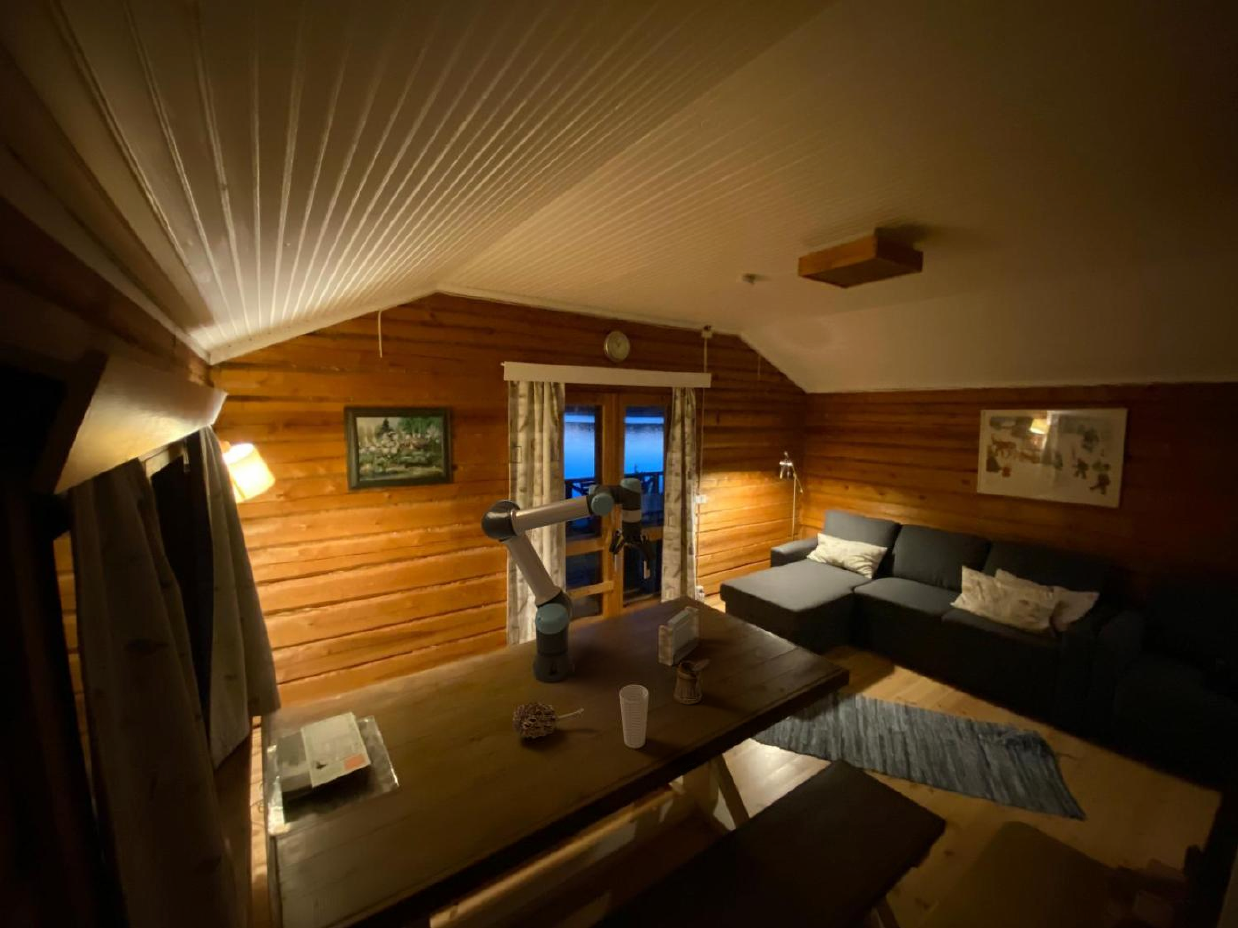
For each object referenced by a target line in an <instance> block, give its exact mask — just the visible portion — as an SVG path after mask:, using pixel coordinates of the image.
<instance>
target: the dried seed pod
mask: <svg viewBox="0 0 1238 928" xmlns="http://www.w3.org/2000/svg"><path fill="white" fill-rule="evenodd" d="M584 711H585V709H584V708H581V707H580V708H579V710H576V711H574V712H571V713H567V714H563V715H559V716H558V714H556V713H555V709H554V707H553V705H552V704H548V703H547V702H544V703H542V702H540V701H539V702H537V701H534V703H533V702H529V703H527V704H522V705H520V706H518V707H517V709H516V710H515V711H513V717H512V729H513V731H514V732H516V734H517V735H519V736H522V737H524V738H527V739H528V738H530V737H531V738H532V739H535V738H539V737H545V736H547V735H550V734H553V732H554V729H555V726H556V724H558V723H557V722H560V721H565V720H568V719H571V718H576V717H579V716H584Z"/></svg>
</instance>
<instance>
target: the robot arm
mask: <svg viewBox="0 0 1238 928" xmlns="http://www.w3.org/2000/svg"><path fill="white" fill-rule="evenodd" d="M617 505H618V506H619V505H620V506H621V507H620V509H621V519H622V520H621V528H618V529H616V530H615V532H614V537H613V540H612V541H611V544H610V547H609V548H608V553H609V552H610V553H612V554H613V555H612V556H613V562H614V571H615V572H619V571H620V570H622V568H621V552H620V551H621V550H622V549H623V547H624V546H625V545H626V544H628V545H633V546H635V547H636V548H637V549H638V550H639V552H640V554H641V556H642V557H643V558H644V560H645V561H643V578H644V579H648V578H650V576H651V570H652V565H653V564H652V563H653V561H655V560H657V555H656V554H655V551H654V548H653V546H652V543H651V541H650V535H649V534H648V533H646V534H642V529H643V527H642V524H643V523H642V521H643V520H642V514H643V513H642V482H641V480H639V479H638V478H634V477H629V478H623V479H621V481H620V484H619V483H618V484H598V483H597V484H591V485H590V486H589V487H588V494H587V495H585V494H584V495H581V496H577V497H571V498H568V499H563V500H559V501H555V502H550V503H546V504H545V503H544V504H541V505H537V506H531V507H527V508H523V509H521V508H520V506H519V505H518V504H517V503H516V502H515V501H512V500H509V499H503V500H499V501H497V502H495V503H494V504H492V506H490V507H489V509H488V510H487V511H486V512H485V513H484V514H483V516H481V520H480V527H481V530H482V532H483V533H484V534H485V536H486V537H487V538H489V539H491V540H497V541H498V543H500V544H501V545H502V544H503V545H505V546H506V548H507V550H508V552H509V553H510V555H511V557H512V558H513V560H514V562H515V564H516V566H517V568H518V569H519V571H520V572H521V574H522V576H523V578H524V579H525V582H526V583H527V585H528V587H529V588H530V590H531V592H532V593H533V596H534V597H535V598H534V601H533V602H534V606H535V608H536V609H537V611H536V612H535V617H534V625H535V643H536V653H535V657H534V660H533V664H532V676H533V677H534V676H535V677H536V678H537V679H536V678H535V677H534V678H535V679H536V680H538V679H539V680H538V681H540V680H541V682H544V681H547V682H546V683H555V682H561V681H563V680H566V679H568V678H570V676H572V675H573V674H574V671H575V661H574V659H573V657H572V654H571V652H570V647H569V646H570V645H569V627H570V624H571V620H572V616H573V613H574V605H573V600H572V598H571V597H570V596H569V594H567V593H566V592H564V590H563V589H562V588H561V586H558V585H555V583H554V581H553V579H552V578H551V576H550V574H549V572H548V571H547V568H546V566H545V565H544V563H543V561H542V560H541V558H540V557H539V554H538V553H537V551H536V549H535V548H534V546H533V544H532V542H531V541H530V537H528V534H527V533H526V532H527V531H531V530H535V529H539V528H544V527H548V526H553V525H557V524H561V523H562V524H563V523H566V522H570V521H575V520H579V519H580V520H581V519H583V518H589V517H593V516H600V517H606V516H608V515H610V514H611V512H612V511H613V509H614V507H615V506H617ZM621 536H622V539H621V541H620V538H621ZM619 541H620V542H619Z"/></svg>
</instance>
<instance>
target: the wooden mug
mask: <svg viewBox="0 0 1238 928" xmlns="http://www.w3.org/2000/svg"><path fill="white" fill-rule="evenodd" d="M709 663H710V658H708V657H705V658H703V659H701V660H700V661H698V662H696V663H695V662H693V661H691V660H683V661H680V662H679V663H678V667H677V672H676V673H677V676H676V678H677V679H676V684H675V689H674V693H673V697H674V700H675V701H677V702H678V703H680V704H683V705H695V704H698V703H699V702H700V701H701V699H702V694H703V693H702V691H701V687H702V684H703V676H702V672H701V671H702V670H703V669H704V668H705V667H707V665H708V664H709Z"/></svg>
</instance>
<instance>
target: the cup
mask: <svg viewBox="0 0 1238 928" xmlns="http://www.w3.org/2000/svg"><path fill="white" fill-rule="evenodd" d="M649 695H650V692H649V690H648V689H647V688H646V687H645V686H644V685H640V684H635V683H634V684H628V685H626V686H623V687H622V688H621V689H620V691H619V702H620V711H621V722H622V731H623V741H624V744H625V745H626V746H627V747H628V748H630V749H639V748H641V747H643V746H644V745H645V742H646V732H647V722H648V710H649V709H648V708H649V698H650V696H649Z"/></svg>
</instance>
